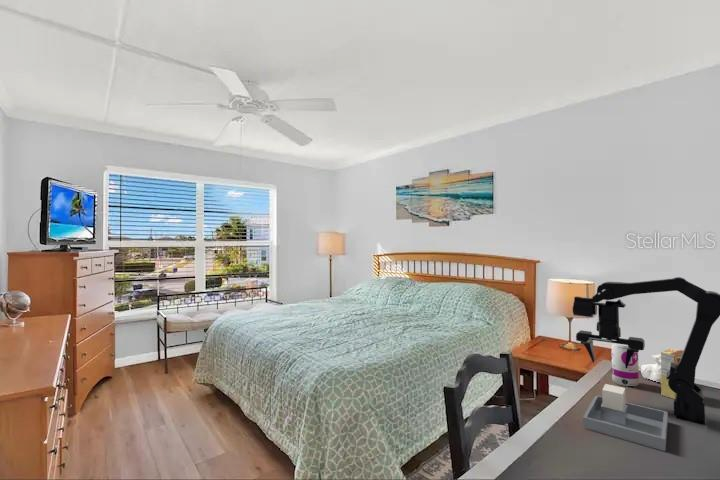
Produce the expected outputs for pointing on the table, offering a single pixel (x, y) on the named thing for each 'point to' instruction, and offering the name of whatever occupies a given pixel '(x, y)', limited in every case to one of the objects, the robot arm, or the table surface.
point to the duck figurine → (652, 369)
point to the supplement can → (619, 370)
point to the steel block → (614, 415)
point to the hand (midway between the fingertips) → (609, 365)
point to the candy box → (666, 360)
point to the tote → (631, 424)
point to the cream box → (614, 397)
